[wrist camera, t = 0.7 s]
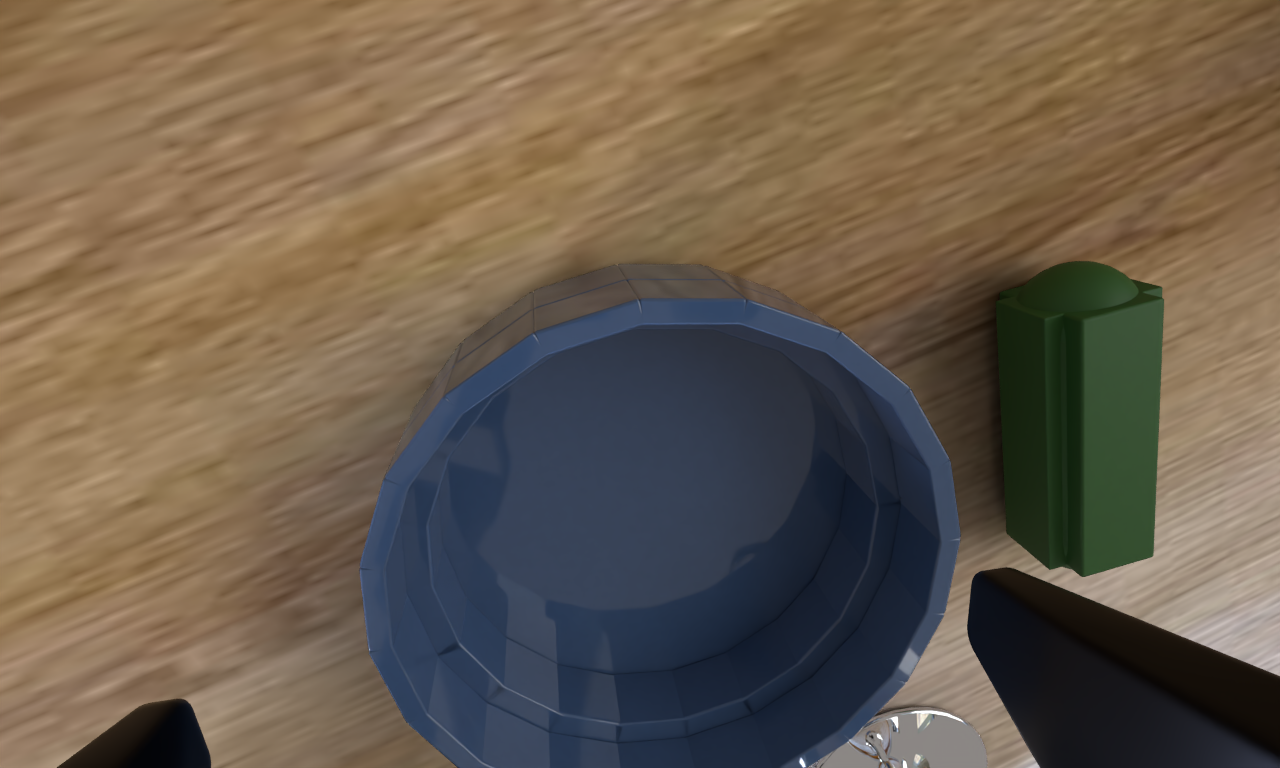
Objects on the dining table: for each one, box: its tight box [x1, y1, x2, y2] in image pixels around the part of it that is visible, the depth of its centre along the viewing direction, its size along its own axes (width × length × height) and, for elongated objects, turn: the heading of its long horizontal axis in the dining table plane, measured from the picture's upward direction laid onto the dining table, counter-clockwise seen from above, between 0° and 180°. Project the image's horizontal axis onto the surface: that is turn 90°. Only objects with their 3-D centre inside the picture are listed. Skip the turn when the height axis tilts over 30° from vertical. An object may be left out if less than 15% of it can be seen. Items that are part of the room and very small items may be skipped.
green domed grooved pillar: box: [996, 261, 1164, 577], centre depth 22 cm, size 10×4×4 cm, turn 13°
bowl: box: [359, 264, 961, 768], centre depth 20 cm, size 15×15×5 cm
